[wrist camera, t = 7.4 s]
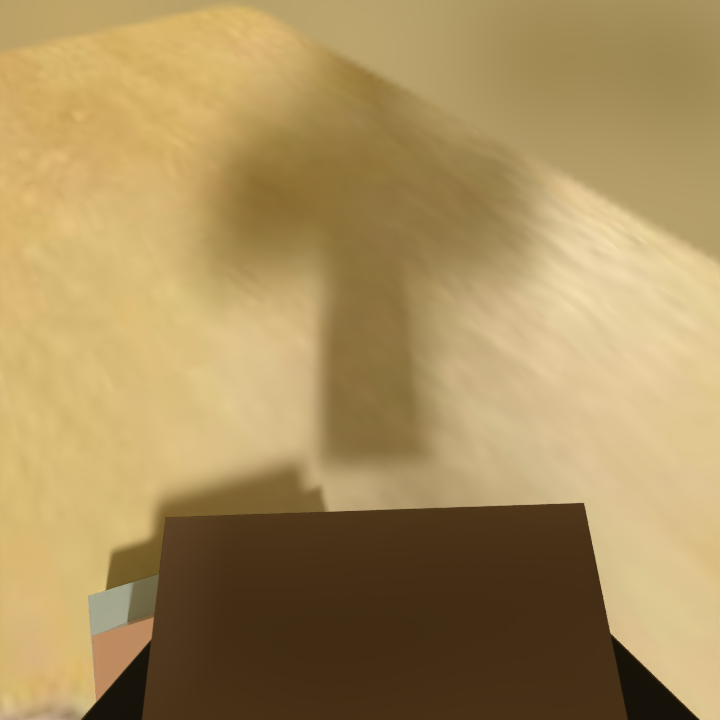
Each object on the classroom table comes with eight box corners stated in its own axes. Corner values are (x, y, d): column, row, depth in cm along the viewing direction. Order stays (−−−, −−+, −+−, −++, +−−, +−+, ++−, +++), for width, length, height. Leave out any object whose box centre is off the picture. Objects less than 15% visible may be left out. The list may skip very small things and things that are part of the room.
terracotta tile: (331, 769, 17) (325, 809, 15) (145, 833, 16) (108, 884, 14) (290, 572, 19) (279, 578, 17) (126, 621, 19) (92, 636, 16)
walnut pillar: (470, 719, 13) (717, 1162, 4) (284, 725, 13) (87, 1183, 4) (451, 521, 15) (583, 503, 6) (289, 526, 15) (165, 518, 6)
